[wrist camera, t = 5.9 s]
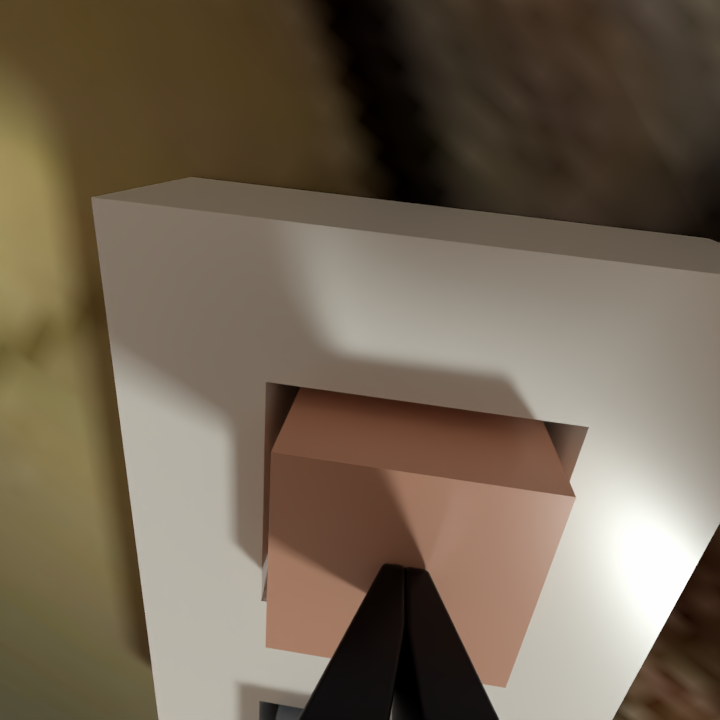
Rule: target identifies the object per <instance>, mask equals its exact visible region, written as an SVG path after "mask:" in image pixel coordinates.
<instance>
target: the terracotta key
mask: <svg viewBox="0 0 720 720" xmlns="http://www.w3.org/2000/svg"><path fill="white" fill-rule="evenodd" d="M575 499H576V496H575V494H574V491H573V489H572V487H571V484H570V482H569V480H568V477H567V475H566V473H565V470H564V468H563V466H562V464H561V461H560V459H559V457H558V454H557V452H556V450H555V447H554V445H553V443H552V440H551V438H550V436H549V434H548V431H547V429H546V427H545V424H544V422H543V421H542V420H535V419H528V418H520V417H513V416H506V415H499V414H492V413H485V412H478V411H470V410H463V409H456V408H449V407H442V406H435V405H428V404H420V403H413V402H406V401H399V400H392V399H385V398H378V397H371V396H363V395H356V394H349V393H342V392H335V391H328V390H321V389H313V388H306V387H300V389H299V391H298V393H297V396H296V398H295V400H294V402H293V404H292V407H291V409H290V411H289V413H288V415H287V418H286V420H285V422H284V424H283V426H282V429H281V431H280V433H279V435H278V437H277V440H276V442H275V444H274V446H273V448H272V450H271V461H270V498H269V535H268V572H267V610H266V648H272V649H278V650H284V651H290V652H296V653H302V654H308V655H314V656H320V657H326V658H332V656H333V654H334V652H335V650H336V648H337V647H338V645H339V643H340V641H341V639H342V637H343V636H344V634H345V632H346V630H347V628H348V627H349V625H350V623H351V621H352V619H353V617H354V616H355V614H356V612H357V610H358V608H359V606H360V605H361V603H362V601H363V599H364V597H365V595H366V594H367V592H368V590H369V588H370V586H371V584H372V583H373V581H374V579H375V577H376V575H377V573H378V572H379V570H380V568H381V566H382V565H383V564H385V563H388V564H395V565H401V566H403V567H404V569H406V568H407V567H414V568H420V569H425V570H427V571H428V572H429V574H430V576H431V578H432V580H433V582H434V584H435V586H436V588H437V590H438V592H439V594H440V596H441V599H442V601H443V603H444V605H445V607H446V609H447V611H448V613H449V615H450V617H451V619H452V622H453V624H454V626H455V628H456V630H457V632H458V634H459V636H460V638H461V640H462V642H463V644H464V647H465V649H466V651H467V653H468V655H469V657H470V659H471V661H472V663H473V665H474V667H475V670H476V672H477V674H478V676H479V678H480V680H481V682H482V684H485V685H491V686H497V687H503V688H506V685H507V682H508V680H509V677H510V674H511V672H512V669H513V666H514V664H515V661H516V658H517V655H518V653H519V650H520V647H521V645H522V642H523V639H524V637H525V634H526V631H527V629H528V626H529V623H530V620H531V618H532V615H533V612H534V610H535V607H536V604H537V602H538V599H539V596H540V593H541V591H542V588H543V585H544V583H545V580H546V577H547V575H548V572H549V569H550V566H551V564H552V561H553V558H554V556H555V553H556V550H557V548H558V545H559V542H560V539H561V537H562V534H563V531H564V529H565V526H566V523H567V521H568V518H569V515H570V513H571V510H572V507H573V504H574V502H575Z"/></svg>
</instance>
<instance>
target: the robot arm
mask: <svg viewBox="0 0 720 720" xmlns="http://www.w3.org/2000/svg"><path fill="white" fill-rule="evenodd" d="M391 709H392V720H499V718H498V715H497V713H496V711H495V709H494V707H493V705H492V703H491V701H490V699H489V697H488V695H487V693H486V690H485V688H484V686H483V684H482V682H481V680H480V678H479V676H478V674H477V672H476V670H475V667H474V665H473V663H472V661H471V659H470V657H469V655H468V653H467V651H466V649H465V647H464V644H463V642H462V640H461V638H460V636H459V634H458V632H457V630H456V628H455V626H454V624H453V622H452V619H451V617H450V615H449V613H448V611H447V609H446V607H445V605H444V603H443V601H442V599H441V596H440V594H439V592H438V590H437V588H436V586H435V584H434V582H433V580H432V578H431V576H430V574H429V572H428V571H427V570H425V569H420V568H414V567H407V568H406V569H404V567H403V566H401V565H395V564H388V563H385V564H383V565H382V566H381V568H380V570H379V572H378V573H377V575H376V577H375V579H374V581H373V583H372V584H371V586H370V588H369V590H368V592H367V594H366V595H365V597H364V599H363V601H362V603H361V605H360V606H359V608H358V610H357V612H356V614H355V616H354V617H353V619H352V621H351V623H350V625H349V627H348V628H347V630H346V632H345V634H344V636H343V637H342V639H341V641H340V643H339V645H338V647H337V648H336V650H335V652H334V654H333V656H332V658H331V659H330V661H329V663H328V665H327V667H326V669H325V670H324V672H323V674H322V676H321V678H320V680H319V681H318V683H317V685H316V687H315V689H314V691H313V692H312V694H311V696H310V698H309V700H308V702H307V703H306V705H305V707H304V709H303V711H302V713H301V714H300V716H299V718H298V720H390V715H391Z"/></svg>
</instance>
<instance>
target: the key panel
mask: <svg viewBox="0 0 720 720" xmlns="http://www.w3.org/2000/svg"><path fill="white" fill-rule="evenodd" d="M91 201H92V209H93V217H94V225H95V232H96V240H97V248H98V255H99V263H100V271H101V279H102V286H103V294H104V302H105V309H106V317H107V325H108V332H109V340H110V348H111V356H112V363H113V371H114V379H115V386H116V394H117V402H118V410H119V417H120V425H121V433H122V440H123V448H124V456H125V463H126V471H127V479H128V487H129V494H130V502H131V510H132V517H133V525H134V533H135V541H136V548H137V556H138V564H139V571H140V579H141V587H142V595H143V602H144V610H145V618H146V625H147V633H148V641H149V648H150V656H151V664H152V672H153V679H154V687H155V695H156V702H157V710H158V718H159V720H275V719H276V715H277V711H278V707H279V704H280V705H286V706H292V707H297V708H303V709H304V707H305V705H306V703H307V702H308V700H309V698H310V696H311V694H312V692H313V691H314V689H315V687H316V685H317V683H318V681H319V680H320V678H321V676H322V674H323V672H324V670H325V669H326V667H327V665H328V663H329V661H330V659H331V658H326V657H320V656H314V655H308V654H302V653H296V652H290V651H284V650H278V649H272V648H266V610H267V572H268V535H269V498H270V461H271V450H272V448H273V446H274V444H275V442H276V440H277V437H278V435H279V433H280V431H281V429H282V426H283V424H284V422H285V420H286V418H287V415H288V413H289V411H290V409H291V407H292V404H293V402H294V400H295V398H296V396H297V393H298V391H299V389H300V387H306V388H313V389H321V390H328V391H335V392H342V393H349V394H356V395H363V396H371V397H378V398H385V399H392V400H399V401H406V402H413V403H420V404H428V405H435V406H442V407H449V408H456V409H463V410H470V411H478V412H485V413H492V414H499V415H506V416H513V417H520V418H528V419H535V420H542V421H543V422H544V424H545V427H546V429H547V431H548V434H549V436H550V438H551V440H552V443H553V445H554V447H555V450H556V452H557V454H558V457H559V459H560V461H561V464H562V466H563V468H564V470H565V473H566V475H567V477H568V480H569V482H570V484H571V487H572V489H573V491H574V494H575V496H576V499H575V502H574V504H573V507H572V510H571V513H570V515H569V518H568V521H567V523H566V526H565V529H564V531H563V534H562V537H561V539H560V542H559V545H558V548H557V550H556V553H555V556H554V558H553V561H552V564H551V566H550V569H549V572H548V575H547V577H546V580H545V583H544V585H543V588H542V591H541V593H540V596H539V599H538V602H537V604H536V607H535V610H534V612H533V615H532V618H531V620H530V623H529V626H528V629H527V631H526V634H525V637H524V639H523V642H522V645H521V647H520V650H519V653H518V655H517V658H516V661H515V664H514V666H513V669H512V672H511V674H510V677H509V680H508V682H507V685H506V688H503V687H497V686H491V685H485V684H483V686H484V688H485V690H486V693H487V695H488V697H489V699H490V701H491V703H492V705H493V707H494V709H495V711H496V713H497V715H498V718H499V720H612V719H613V717H614V715H615V714H616V712H617V710H618V708H619V706H620V704H621V703H622V701H623V699H624V697H625V695H626V693H627V692H628V690H629V688H630V686H631V684H632V682H633V681H634V679H635V677H636V675H637V673H638V671H639V670H640V668H641V666H642V664H643V662H644V661H645V659H646V657H647V655H648V653H649V651H650V650H651V648H652V646H653V644H654V642H655V640H656V639H657V637H658V635H659V633H660V631H661V629H662V628H663V626H664V624H665V622H666V620H667V619H668V617H669V615H670V613H671V611H672V609H673V608H674V606H675V604H676V602H677V600H678V598H679V597H680V595H681V593H682V591H683V589H684V587H685V586H686V584H687V582H688V580H689V578H690V577H691V575H692V573H693V571H694V569H695V567H696V566H697V564H698V562H699V560H700V558H701V556H702V555H703V553H704V551H705V549H706V547H707V545H708V544H709V542H710V540H711V538H712V536H713V535H714V533H715V531H716V529H717V527H718V525H719V524H720V243H719V242H716V241H714V240H711V239H708V238H701V237H693V236H684V235H676V234H667V233H659V232H651V231H642V230H634V229H625V228H617V227H608V226H600V225H592V224H583V223H575V222H566V221H558V220H550V219H541V218H533V217H524V216H516V215H508V214H499V213H491V212H482V211H474V210H466V209H457V208H449V207H440V206H432V205H423V204H415V203H407V202H398V201H390V200H381V199H373V198H365V197H356V196H348V195H339V194H331V193H323V192H314V191H306V190H297V189H289V188H281V187H272V186H264V185H255V184H247V183H239V182H230V181H222V180H213V179H205V178H196V177H188V178H183V179H178V180H173V181H168V182H164V183H159V184H154V185H149V186H144V187H139V188H134V189H129V190H124V191H119V192H115V193H110V194H105V195H100V196H95V197H91ZM390 720H392V709H391V715H390Z"/></svg>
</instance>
